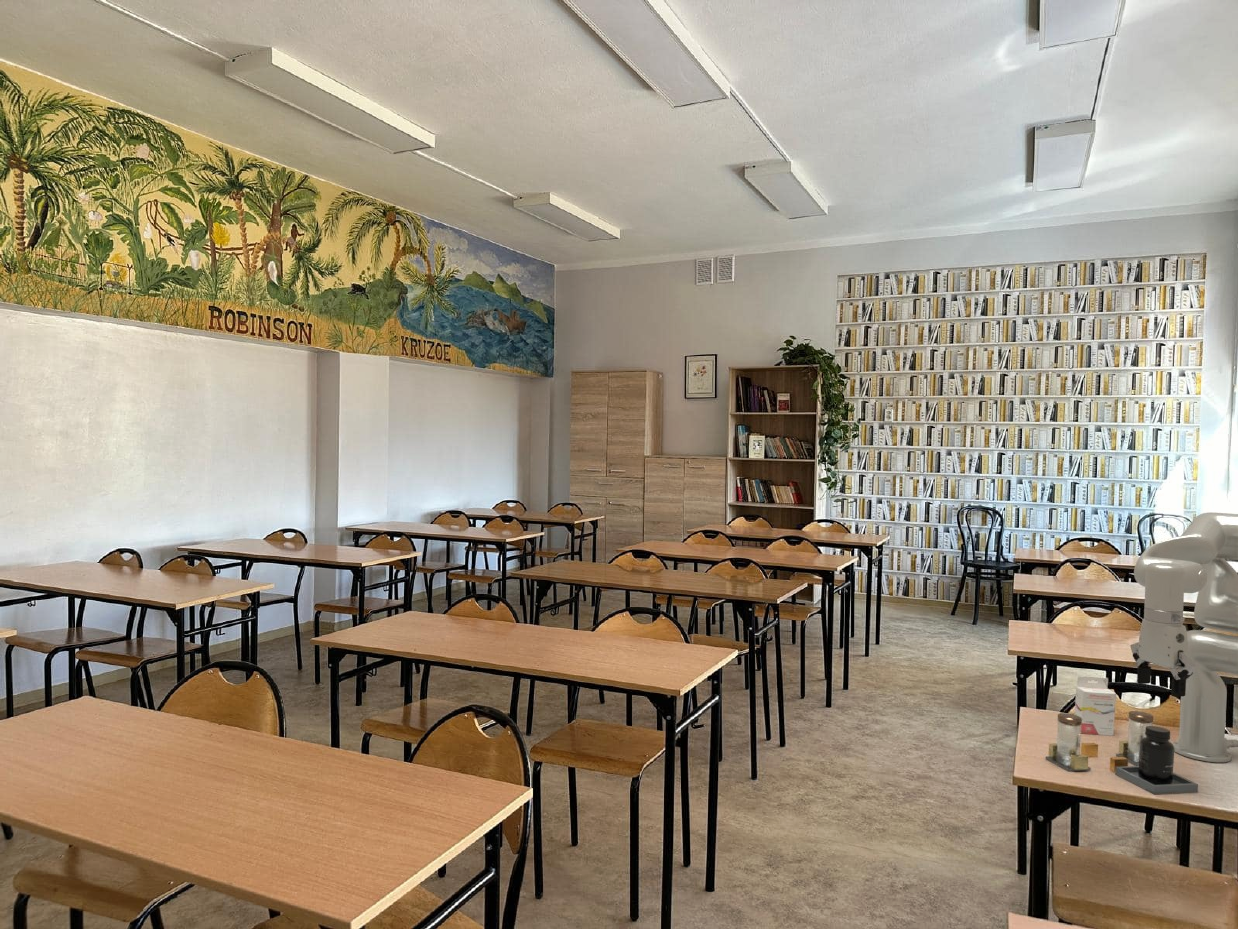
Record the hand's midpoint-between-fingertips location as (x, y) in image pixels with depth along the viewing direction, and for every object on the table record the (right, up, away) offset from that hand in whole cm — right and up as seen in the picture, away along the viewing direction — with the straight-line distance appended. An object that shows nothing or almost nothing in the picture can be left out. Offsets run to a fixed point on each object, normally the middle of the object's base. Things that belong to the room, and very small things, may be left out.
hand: (1160, 689), depth 193 cm
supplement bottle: (-1, -21, 0) cm, 21 cm away
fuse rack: (-6, -21, +12) cm, 25 cm away
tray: (-1, -22, 0) cm, 22 cm away
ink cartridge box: (+5, -21, +35) cm, 42 cm away
